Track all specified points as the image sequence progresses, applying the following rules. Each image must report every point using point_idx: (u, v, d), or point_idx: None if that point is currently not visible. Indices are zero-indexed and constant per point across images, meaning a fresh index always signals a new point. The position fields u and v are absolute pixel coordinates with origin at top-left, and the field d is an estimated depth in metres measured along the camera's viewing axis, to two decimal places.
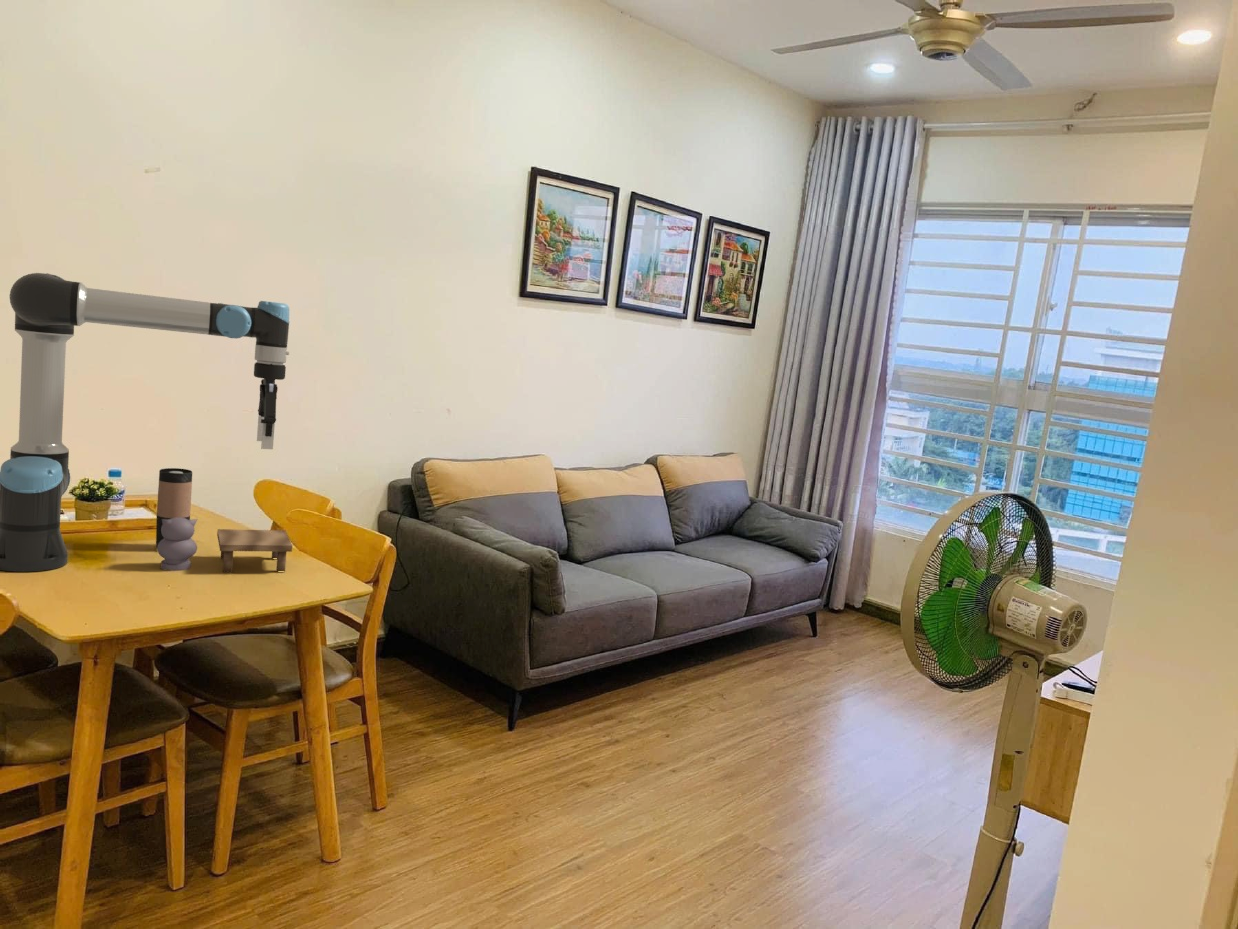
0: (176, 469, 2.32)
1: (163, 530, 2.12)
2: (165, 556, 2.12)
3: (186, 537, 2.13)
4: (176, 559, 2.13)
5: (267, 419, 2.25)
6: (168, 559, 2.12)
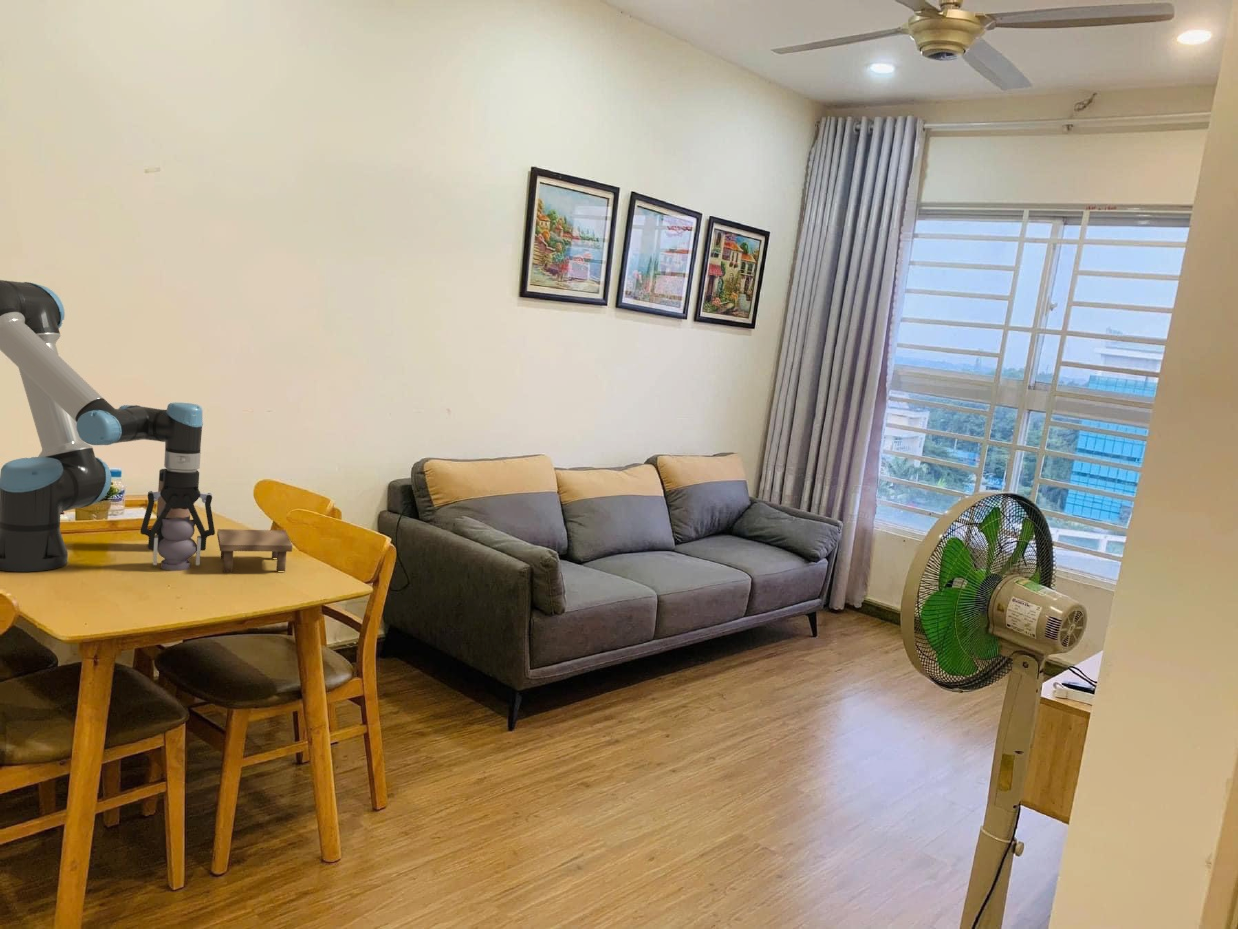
0: None
1: (163, 530, 2.12)
2: (165, 556, 2.12)
3: (186, 537, 2.13)
4: (176, 559, 2.13)
5: None
6: (168, 559, 2.12)
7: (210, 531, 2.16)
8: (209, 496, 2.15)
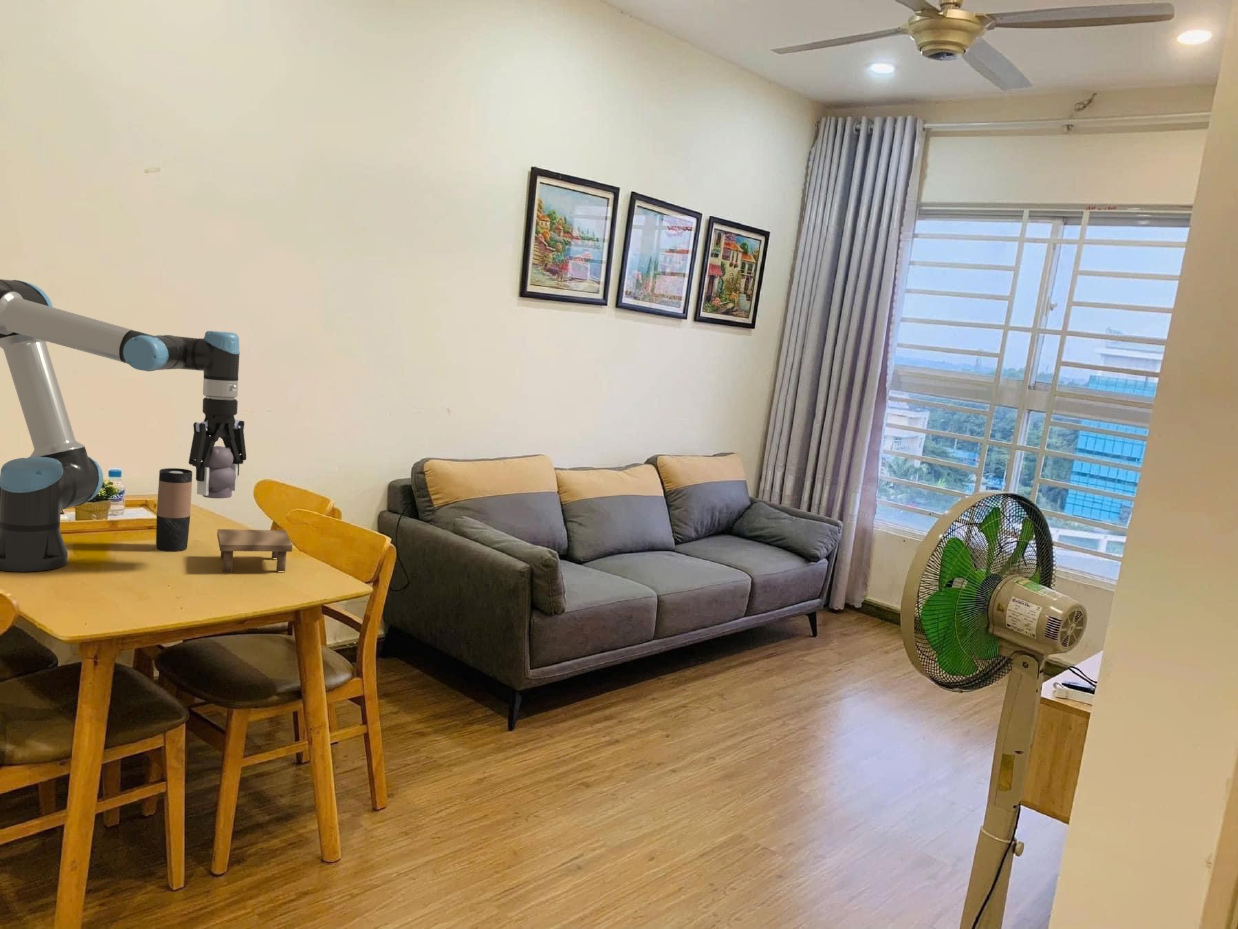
0: (176, 469, 2.32)
1: (213, 459, 2.12)
2: (219, 484, 2.14)
3: (231, 464, 2.17)
4: (227, 486, 2.16)
5: (190, 462, 2.09)
6: (219, 487, 2.14)
7: (243, 456, 2.22)
8: (242, 422, 2.20)
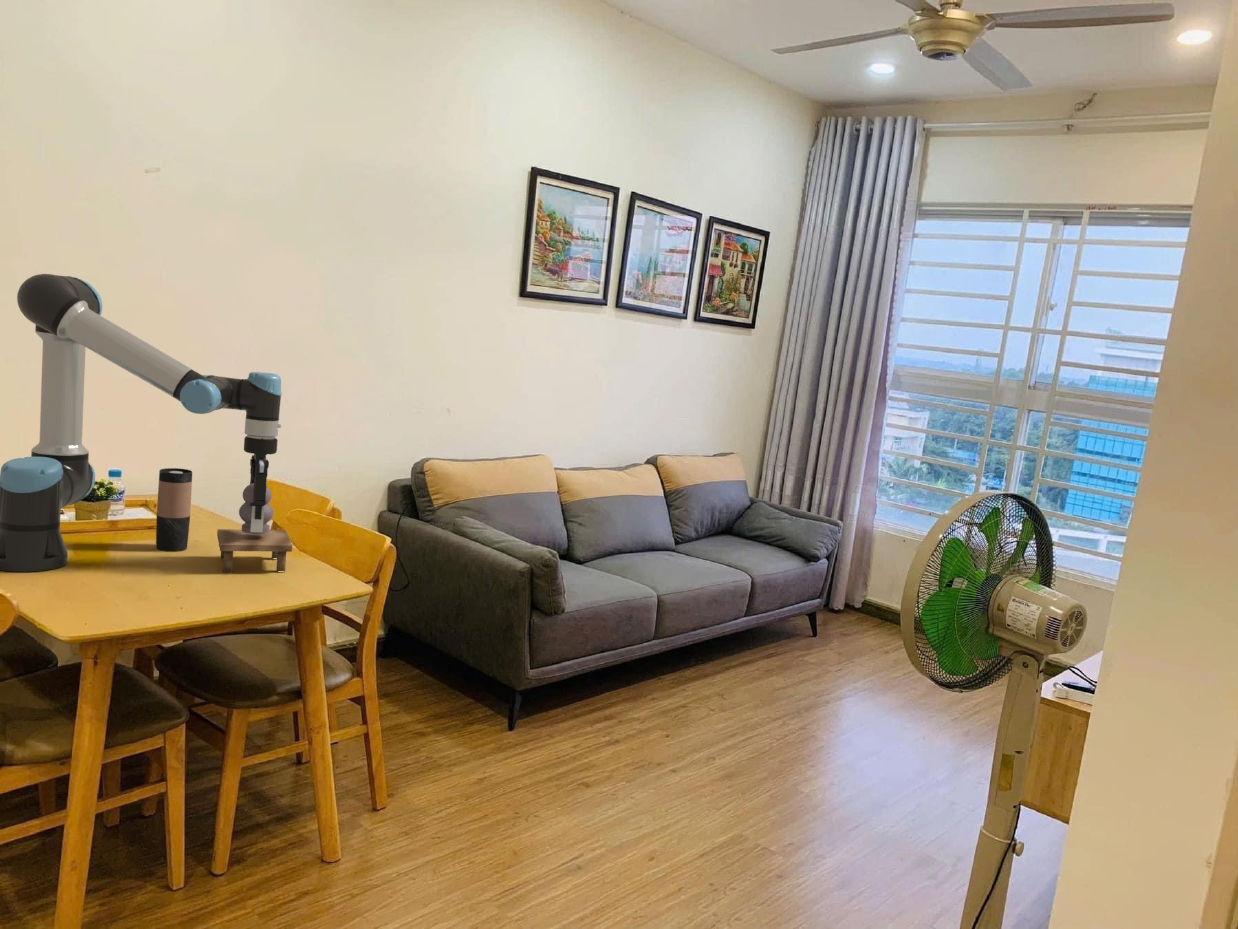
0: (176, 469, 2.32)
1: None
2: (268, 520, 2.23)
3: None
4: None
5: (256, 502, 2.16)
6: (266, 522, 2.23)
7: None
8: None
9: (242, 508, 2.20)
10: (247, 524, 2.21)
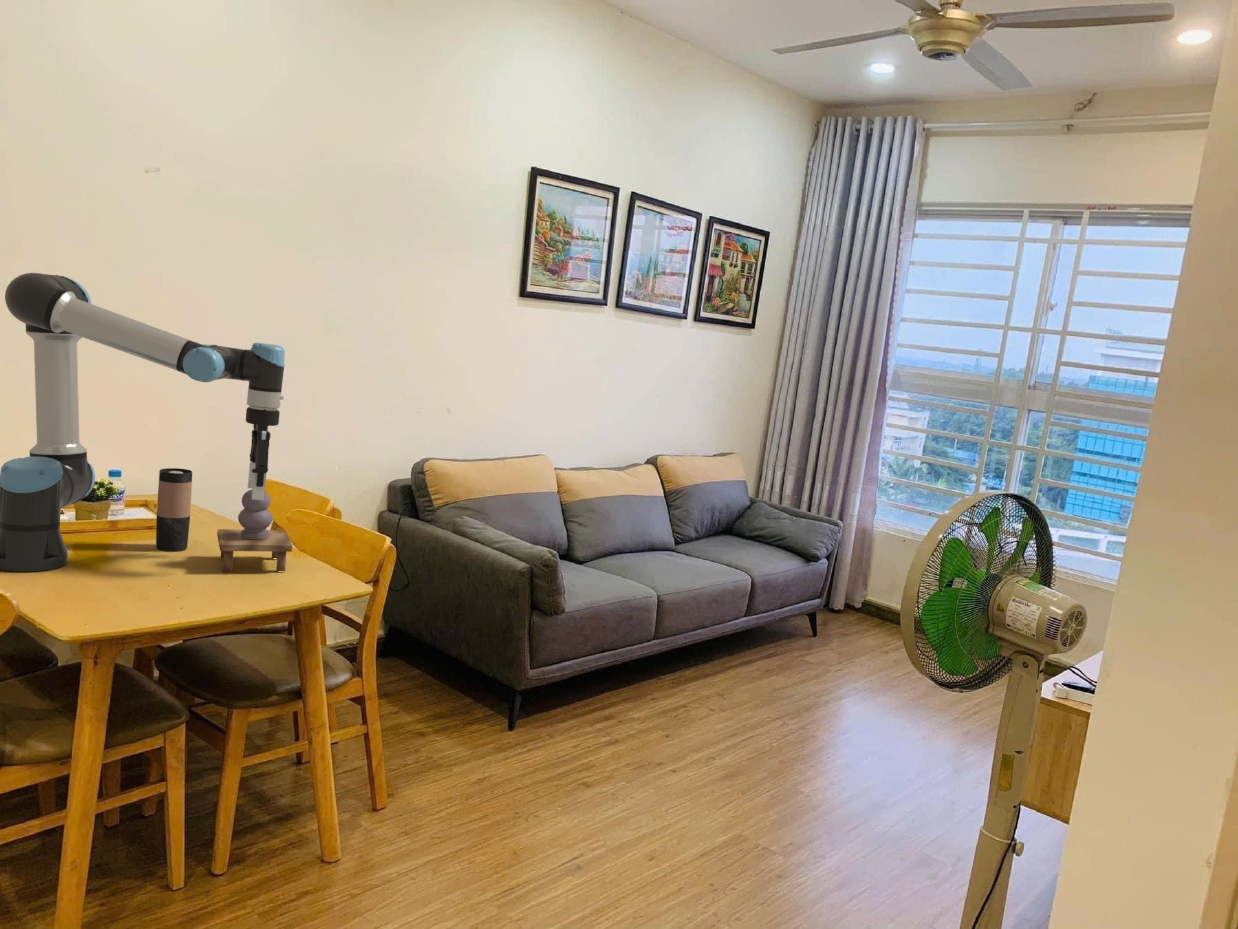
0: (176, 469, 2.32)
1: (264, 502, 2.21)
2: (267, 525, 2.23)
3: None
4: None
5: (258, 469, 2.12)
6: (265, 528, 2.23)
7: None
8: None
9: (241, 514, 2.21)
10: (246, 530, 2.22)
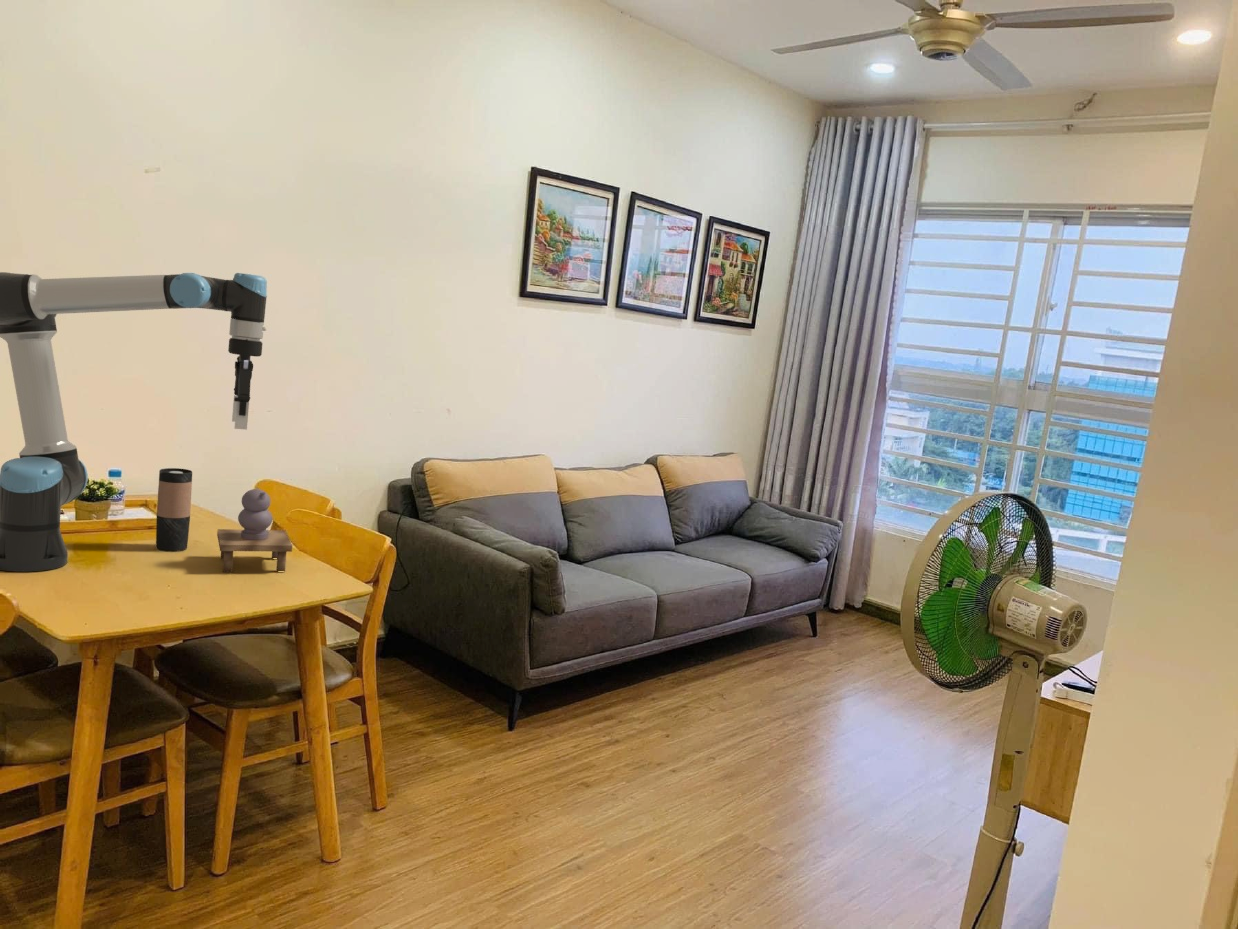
0: (176, 469, 2.32)
1: (264, 502, 2.21)
2: (267, 526, 2.23)
3: None
4: None
5: (240, 397, 2.13)
6: (265, 528, 2.23)
7: None
8: None
9: (241, 514, 2.21)
10: (246, 530, 2.22)
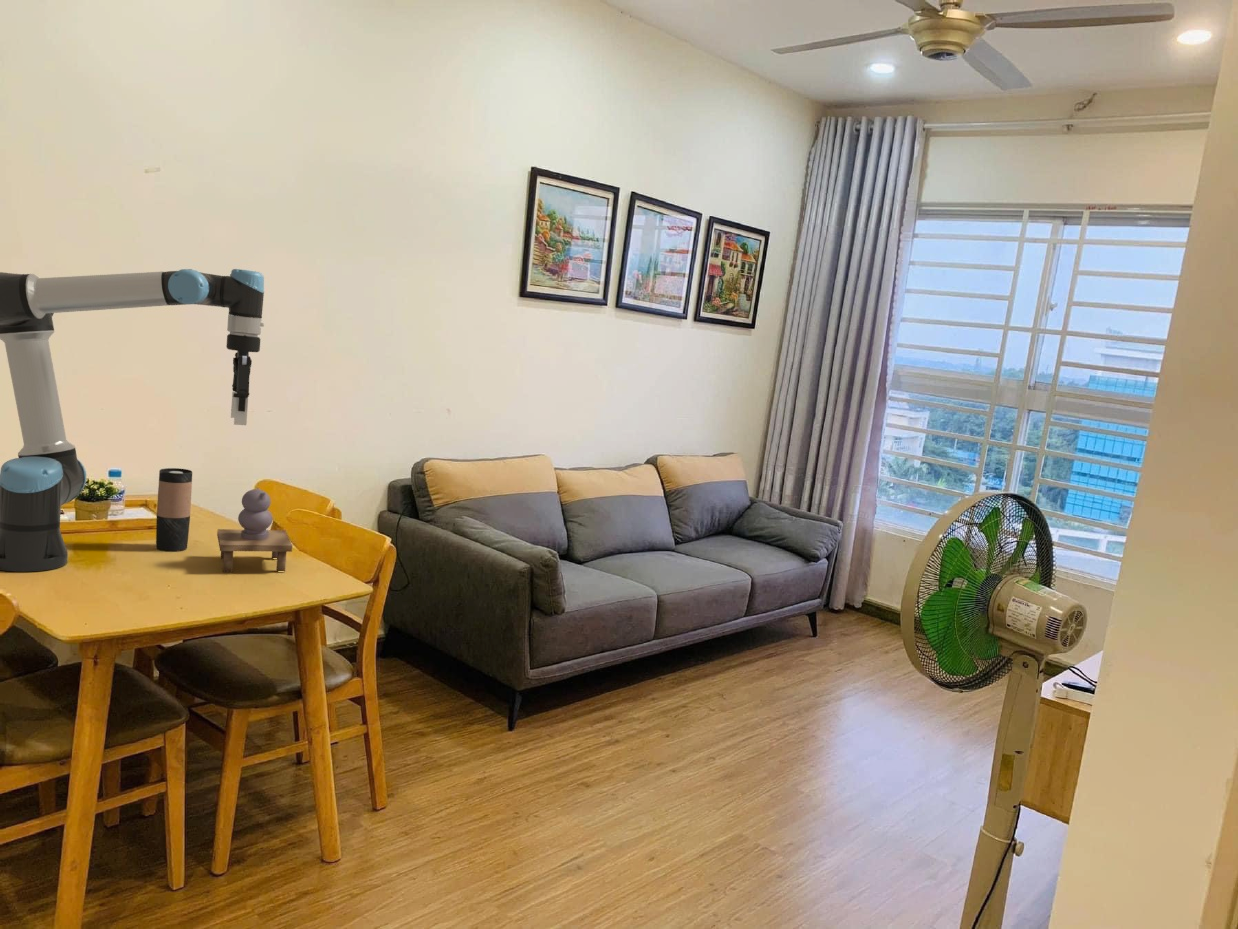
0: (176, 469, 2.32)
1: (264, 503, 2.21)
2: (267, 526, 2.23)
3: None
4: None
5: (240, 393, 2.13)
6: (265, 529, 2.23)
7: None
8: None
9: (241, 514, 2.21)
10: (246, 530, 2.22)
